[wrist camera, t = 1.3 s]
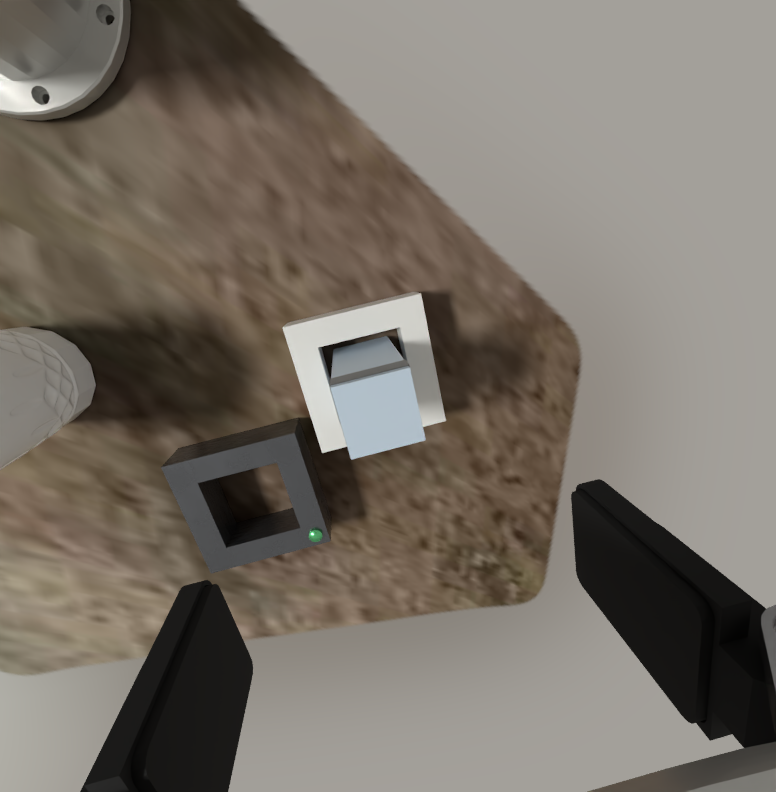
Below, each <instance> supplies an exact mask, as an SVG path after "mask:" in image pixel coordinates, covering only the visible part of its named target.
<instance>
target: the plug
mask: <svg viewBox="0 0 776 792" xmlns="http://www.w3.org/2000/svg"><path fill="white" fill-rule="evenodd" d="M329 386H330V389H331V393H332V396H333V400H334V403H335V406H336V410H337V413H338V417H339V420H340V424H341V427H342V431H343V434H344V437H345V441H346V444H347V448H348V451H349V455H350V457H351V460H352V459H355V458H359V457H363V456H367V455H371V454H374V453H378V452H382V451H386V450H390V449H394V448H397V447H401V446H405V445H409V444H413V443H417V442H420V441H424V440H426V439H425V434H424V430H423V425H422V421H421V416H420V411H419V407H418V402H417V398H416V393H415V388H414V384H413V379H412V374H411V370H410V365H409V363H408V362H407V361H406V360H404V359H403V357H402V356H401V355H400V353H399V352H398V351H397V349H396V348H395V346H394V345H393V344H392V342H391V341H390V340H389V338H388V337H387V336H384V337H380V338H376V339H372V340H368V341H364V342H360V343H356V344H352V345H348V346H344V347H340V348H336V349H333V361H332V373H331V378H330V382H329Z"/></svg>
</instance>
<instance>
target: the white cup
mask: <svg viewBox="0 0 776 792" xmlns="http://www.w3.org/2000/svg"><path fill="white" fill-rule="evenodd" d="M95 387H96V383H95V379H94V375H93V371H92V367H91V364H90V363H89V361H88V360H87V359H86V358H85V356H84V355H83V354H82V353H81V351H80V350H79V349H78V348H77V346H76V345H75V344H73V343H71V342H70V341H68V340H66V339H65V338H63V337H61V336H59V335H58V334H56V333H54V332H53V331H48V330H42V329H36V328H30V327H19V328H12V329H4V330H0V470H1V469H3V468H4V467H6V466H8V465H9V464H11V463H12V462H14V461H15V460H17V459H18V458H20V457H21V456H23V455H24V454H26V453H27V452H29V451H30V450H31V449H33V448H34V447H36V446H37V445H39V444H40V443H42V442H43V441H44V440H46V439H47V438H49V437H50V436H52V435H53V434H55V433H56V432H57V431H59V430H60V429H61V428H62V427H63V426H64V425H66V424H68V423H69V422H71V421H72V420H74V419H75V418H77V417H78V416H79V415H80V414H81V413H82V412H83V411H84V410H85V409H86V408H87V407H88V406H90V405H91V401H92V398H93V394H94V391H95Z"/></svg>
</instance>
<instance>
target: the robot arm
mask: <svg viewBox="0 0 776 792" xmlns="http://www.w3.org/2000/svg"><path fill="white" fill-rule="evenodd" d="M112 20H114V21H113V23H112V24H110V23H111V21H112ZM130 20H131V7H130V0H0V115H4V116H8V117H12V118H16V119H22V120H41V121H43V120H49V119H55V118H62V117H66V116H68V115H70V114H73V113H75V112H78V111H80V110H83V109H84V108H86V107H87V106H88V105H90V104H91V103H92V102H94V101H95V100H97V99H98V98H99V97H100V96H101V95H102V94H103V93H104V92H105V90H106V89H107V88H108V87H109V86H110V84H111V83H112V82H113V81H114V79H115V77H116V75H117V73H118V71H119V69H120V67H121V65H122V63H123V61H124V57H125V53H126V49H127V45H128V41H129V36H130ZM49 98H50V99H49ZM48 99H49V102H48ZM571 500H572V515H573V530H574V545H575V561H576V572H577V576H578V579H579V581H580V583H581V585H582V586H583V588H584V589H585V590H586V592H587V593H588V594H589V596H590V597H591V598H592V599H593V601H594V602H595V603H596V605H597V606H598V607H599V608H600V610H601V611H602V612H603V614H604V615H605V616H606V618H607V619H608V620H609V621H610V623H611V624H612V625H613V627H614V628H615V629H616V631H617V632H618V633H619V634H620V636H621V637H622V638H623V640H624V641H625V642H626V644H627V645H628V646H629V647H630V649H631V650H632V651H633V652H634V654H635V655H636V656H637V658H638V659H639V660H640V662H641V663H642V664H643V666H644V667H645V668H646V669H647V671H648V672H649V673H650V675H651V676H652V677H653V679H654V680H655V681H656V683H657V684H658V685H659V686H660V688H661V689H662V690H663V691H664V693H665V694H666V695H667V697H668V698H669V699H670V701H671V702H672V703H673V704H674V706H675V707H676V708H677V710H678V711H679V712H680V714H681V715H682V716H683V717H684V718H685V719H686V720H687V721H688V722H690V723H697V725H698V726H699V727H700V728H701V730H702V731H703V732H704V733H705V735H706V736H707V737H708V738H709V740H713V739H717V738H721V737H724V736H727V735H730V734H733V735H734V737H735V738H736V739H737V740H738V741H739V743H740V744H741V745H742V746H743V747H744V748H743V749H739V750H736V751H732V752H728V753H724V754H720V755H717V756H713V757H709V758H706V759H702V760H698V761H694V762H690V763H686V764H683V765H679V766H675V767H671V768H668V769H664V770H661V771H657V772H654V773H650V774H647V775H644V776H640V777H637V778H633V779H630V780H626V781H623V782H619V783H616V784H612V785H609V786H606V787H602V788H599V789H595V790H592V791H588V792H776V605H774V606H772V607H769V608H767V609H766V608H765V607H763V606H762V605H761V604H759V603H758V602H757V601H756V600H754V599H753V598H752V597H751V596H749V595H748V594H747V593H746V592H744V591H743V590H742V589H741V588H739V587H738V586H737V585H736V584H734V583H733V582H732V581H730V580H729V579H728V578H727V577H725V576H724V575H723V574H722V573H720V572H719V571H718V570H717V569H715V568H714V567H713V566H712V565H710V564H709V563H708V562H707V561H705V560H704V559H703V558H701V557H700V556H699V555H698V554H696V553H695V552H694V551H693V550H691V549H690V548H689V547H688V546H686V545H685V544H684V543H683V542H681V541H680V540H679V539H678V538H676V537H675V536H673V535H672V534H671V533H670V532H669V531H667V530H666V529H665V528H664V527H662V526H661V525H659V524H657V523H656V522H654V521H653V520H652V519H651V518H649V517H648V516H646V514H644V513H643V512H642V511H640V510H639V509H638V508H637V507H635V506H634V505H633V504H632V503H630V502H629V501H628V500H627V499H625V498H624V497H623V496H622V495H620V494H619V493H618V492H617V491H615V490H614V489H613V488H612V487H610V486H609V485H608V484H607V483H605V482H604V481H602V480H594V481H590V482H586V483H582V484H579V485H577V487H576V491H575V492H572V495H571ZM252 675H253V664H252V659H251V657H250V655H249V652H248V650H247V648H246V646H245V643H244V641H243V639H242V637H241V634H240V632H239V630H238V628H237V626H236V623H235V621H234V619H233V617H232V614H231V612H230V610H229V608H228V605H227V603H226V601H225V599H224V596H223V594H222V592H221V590H220V588H219V586H218V585H217V584H214V585H212V584H211V582H210V581H208V580H205V581H201V582H197V583H193V584H189V585H186V586H184V587H182V588H181V590H180V591H179V593H178V595H177V597H176V599H175V601H174V603H173V606H172V608H171V610H170V612H169V614H168V616H167V618H166V620H165V622H164V624H163V626H162V628H161V630H160V632H159V634H158V636H157V638H156V640H155V642H154V644H153V646H152V648H151V650H150V652H149V654H148V656H147V658H146V660H145V662H144V664H143V666H142V668H141V670H140V672H139V674H138V676H137V678H136V680H135V682H134V684H133V686H132V688H131V690H130V692H129V694H128V696H127V698H126V700H125V702H124V704H123V706H122V708H121V710H120V712H119V714H118V716H117V719H116V721H115V723H114V725H113V727H112V729H111V731H110V733H109V735H108V737H107V739H106V741H105V743H104V745H103V747H102V749H101V751H100V753H99V755H98V757H97V759H96V761H95V763H94V765H93V767H92V769H91V771H90V773H89V775H88V777H87V779H86V782H85V783H84V785H83V788H82V790H81V791H80V792H228V789H229V785H230V780H231V775H232V770H233V766H234V760H235V756H236V751H237V747H238V742H239V737H240V732H241V728H242V723H243V718H244V713H245V709H246V703H247V699H248V694H249V690H250V685H251V680H252Z"/></svg>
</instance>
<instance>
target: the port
mask: <svg viewBox="0 0 776 792" xmlns="http://www.w3.org/2000/svg"><path fill="white" fill-rule="evenodd" d="M273 463H277V464H278V467H279V470H280V472H281V475H282V478H283V481H284V484H285V486H286V489H287V492H288V495H289V497H290V500H291V503H292V506H293V508H292V509H288V510H284V511H280V512H277V513H273V514H269V515H265V516H262V517H258V518H254V519H250V520H246V521H243V522H239V523H236V521H235V519H234V517H233V514H232V512H231V509H230V507H229V505H228V502H227V500H226V498H225V495H224V493H223V490H222V488H221V486H220V483H219V481H218V479H217V478H219V477H223V476H227V475H231V474H235V473H239V472H242V471H246V470H250V469H254V468H258V467H262V466H266V465H269V464H273ZM161 468H162V470H163V472H164V474H165V477H166V479H167V481H168V483H169V485H170V487H171V489H172V491H173V494H174V496H175V498H176V500H177V502H178V504H179V506H180V508H181V511H182V513H183V515H184V517H185V519H186V521H187V523H188V525H189V528H190V530H191V532H192V534H193V536H194V538H195V540H196V542H197V545H198V547H199V549H200V551H201V553H202V555H203V557H204V559H205V562H206V564H207V566H208V568H209V570H210V572H211V573H214V572H218V571H222V570H225V569H229V568H233V567H236V566H240V565H244V564H248V563H251V562H255V561H259V560H262V559H266V558H270V557H274V556H277V555H281V554H285V553H288V552H292V551H296V550H299V549H303V548H307V547H311V546H314V545H318V544H322V543H325V542H329V541H331V515H330V512H329V509H328V506H327V503H326V500H325V497H324V493H323V490H322V487H321V484H320V481H319V478H318V475H317V472H316V469H315V466H314V463H313V460H312V457H311V454H310V451H309V447H308V444H307V441H306V438H305V435H304V432H303V429H302V426H301V423H300V420H299V418H295V419H291V420H287V421H283V422H280V423H276V424H272V425H268V426H264V427H260V428H256V429H252V430H248V431H244V432H241V433H237V434H233V435H229V436H225V437H221V438H217V439H213V440H209V441H205V442H201V443H198V444H194V445H190V446H186V447H182V448H178V449H177V450H176V452H175V453H174V454H173V455H172V456H171V457H170V458H169V459H168V460H167V461H166V463H165V464H164V465H163V466H162V467H161Z"/></svg>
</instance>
